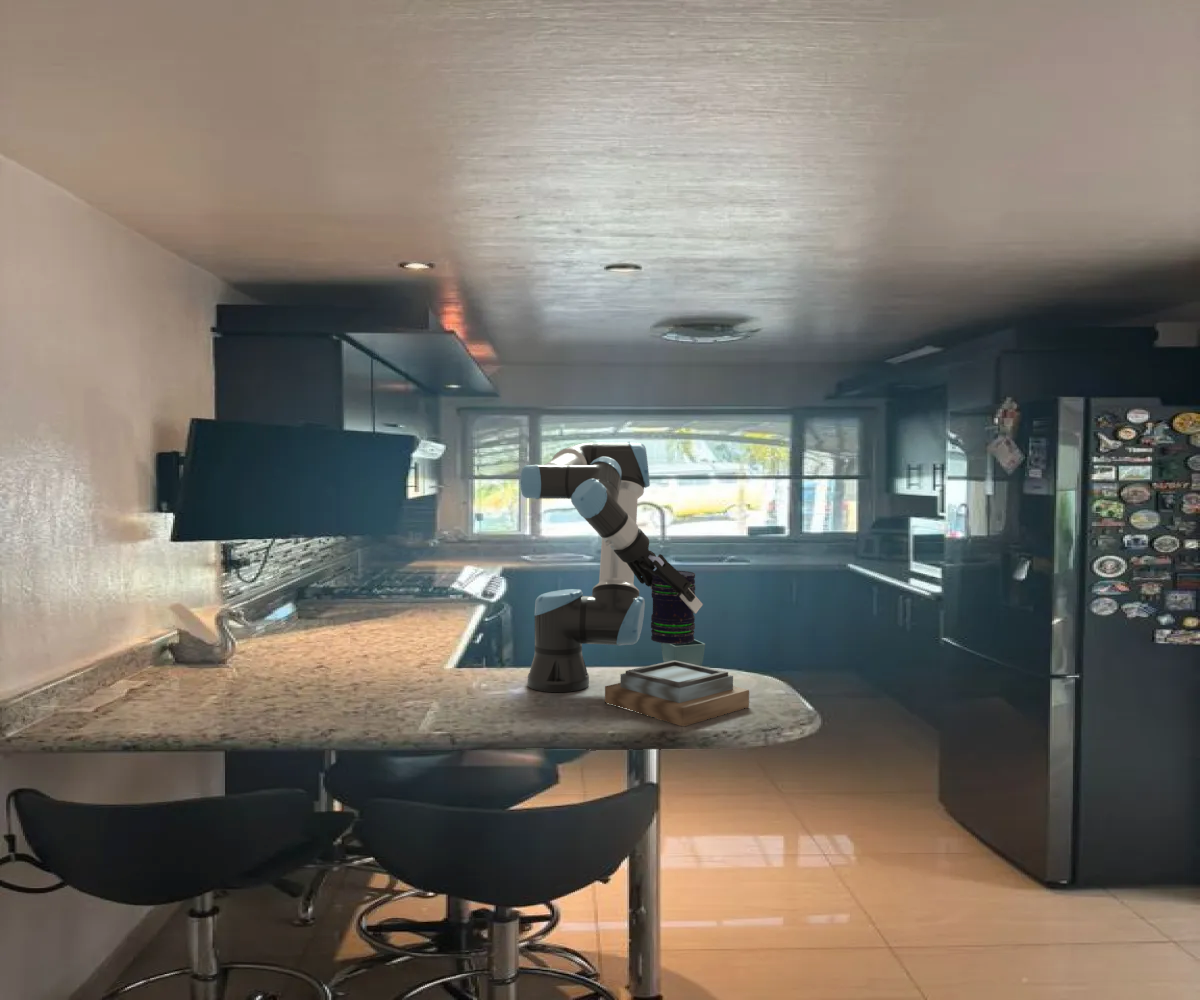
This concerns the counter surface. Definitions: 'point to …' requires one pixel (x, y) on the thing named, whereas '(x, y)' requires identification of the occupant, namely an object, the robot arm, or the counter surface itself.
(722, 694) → the tower base
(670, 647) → the flower pot
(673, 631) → the dark blue cylinder
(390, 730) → the counter surface
